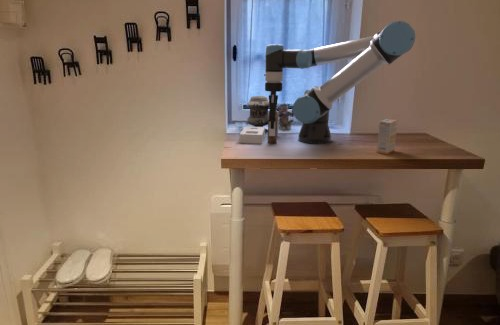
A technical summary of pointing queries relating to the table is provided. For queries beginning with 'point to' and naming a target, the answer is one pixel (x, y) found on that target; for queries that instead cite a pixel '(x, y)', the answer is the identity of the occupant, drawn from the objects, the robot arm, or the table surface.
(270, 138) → the walnut dowel
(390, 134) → the supplement box
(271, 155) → the table surface
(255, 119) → the apothecary jar
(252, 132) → the socket block
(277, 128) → the square steel bar
